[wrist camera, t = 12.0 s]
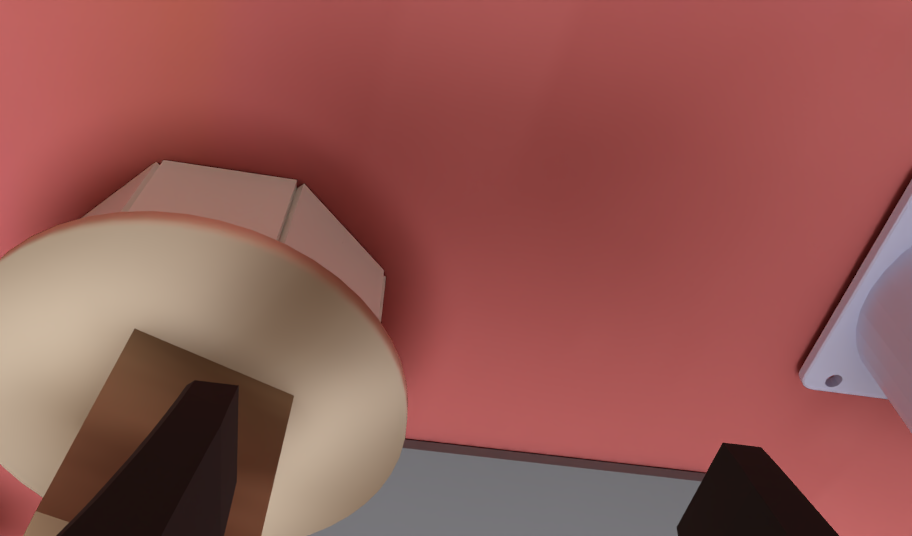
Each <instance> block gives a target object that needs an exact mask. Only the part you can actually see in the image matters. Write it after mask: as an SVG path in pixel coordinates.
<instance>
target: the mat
mask: <svg viewBox="0 0 912 536" xmlns="http://www.w3.org/2000/svg"><path fill="white" fill-rule="evenodd" d="M705 474H706V473H697V472H688V471H680V470H671V469H662V468H653V467H644V466H636V465H627V464H618V463H609V462H600V461H592V460H583V459H574V458H565V457H556V456H547V455H539V454H530V453H521V452H512V451H503V450H495V449H486V448H477V447H468V446H459V445H450V444H442V443H433V442H424V441H415V440H406V439H405V440H404V444H403V447H402V450H401V454H400V457H399V459H398V461H397V463H396V465H395V467H394V469H393V471H392V473H391V475H390V476H389V478H388V479H387V480H386V482H385V483H384V484H383V486H382V487H381V488H380V490H379V491H378V492H377V493H376V494H375V495H374V496H373V497H372V498H371V499H370V500H369V501H368V502H367V503H366V504H364V505H363V506H362V507H360V508H359V509H358V510H356V511H355V512H354V513H352V514H351V515H349V516H348V517H346V518H344V519H343V520H341V521H339V522H337V523H335V524H334V525H332V526H330V527H328V528H325V529H323V530H320V531H318V532H315V533H313V534H311V535H308V536H678V533H677V525H678V524H679V522H680V520H681V518H682V516H683V514H684V513H685V511H686V509H687V507H688V505H689V504H690V502H691V500H692V498H693V496H694V494H695V493H696V491H697V489H698V487H699V485H700V484H701V482H702V480H703V478H704V476H705Z"/></svg>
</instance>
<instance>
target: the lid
mask: <svg viewBox="0 0 912 536" xmlns="http://www.w3.org/2000/svg"><path fill="white" fill-rule="evenodd" d="M194 380H198V381H206V382H214V383H223V384H231V385H239V399H238V450H237V483H236V487H235V491H234V496H233V500H232V504H231V509H230V513H229V517H228V521H227V526H226V530H225V534H224V536H308V535H311V534H313V533H315V532H318V531H320V530H323V529H325V528H328V527H330V526H332V525H334V524H335V523H337V522H339V521H341V520H343V519H344V518H346V517H348V516H349V515H351V514H352V513H354V512H355V511H356V510H358V509H359V508H360V507H362V506H363V505H364V504H366V503H367V502H368V501H369V500H370V499H371V498H372V497H373V496H374V495H375V494H376V493H377V492H378V491H379V490H380V488H381V487H382V486H383V484H384V483H385V482H386V480H387V479H388V478H389V476H390V475H391V473H392V471H393V469H394V467H395V465H396V463H397V461H398V459H399V457H400V454H401V450H402V447H403V444H404V440H405V433H406V424H407V410H408V397H407V384H406V379H405V375H404V371H403V367H402V363H401V360H400V358H399V355H398V353H397V351H396V349H395V346H394V344H393V342H392V340H391V338H390V336H389V335H388V333H387V332H386V330H385V328H384V327H383V325H382V324H381V322H380V321H379V319H378V318H377V316H376V315H375V314H374V313H373V312H372V311H371V309H370V308H369V307H368V306H367V305H366V303H365V302H364V301H363V300H362V299H361V298H360V297H359V296H358V295H357V294H356V293H355V292H354V291H353V290H352V289H351V288H349V287H348V286H347V285H346V284H345V283H344V282H343V281H342V280H341V279H340V278H338V277H337V276H336V275H334V274H333V273H331V272H330V271H329V270H327V269H326V268H324V267H323V266H322V265H320V264H319V263H317V262H316V261H315V260H313V259H311V258H309V257H308V256H306V255H304V254H302V253H301V252H299V251H297V250H295V249H293V248H292V247H290V246H288V245H286V244H284V243H282V242H279V241H277V240H275V239H272V238H270V237H268V236H265V235H263V234H261V233H258V232H256V231H253V230H250V229H247V228H244V227H240V226H237V225H234V224H231V223H227V222H224V221H220V220H215V219H210V218H205V217H200V216H195V215H190V214H181V213H170V212H158V211H135V212H115V213H108V214H101V215H94V216H88V217H84V218H80V219H77V220H73V221H70V222H66V223H62V224H59V225H56V226H54V227H52V228H49V229H47V230H45V231H43V232H40V233H38V234H36V235H33V236H31V237H30V238H28V239H27V240H25V241H24V242H22V243H20V244H19V245H17V246H16V247H14V248H13V249H11V250H10V251H8V252H7V253H6V254H5V255H4V256H3V257H2V258H1V259H0V464H1V465H2V466H3V467H4V468H5V469H6V470H7V471H9V472H10V473H11V474H12V475H13V476H14V477H16V478H17V479H18V480H19V481H20V482H21V483H23V484H24V485H26V486H27V487H28V488H30V489H31V490H33V491H34V492H36V493H37V494H38V495H40V496H41V497H43V499H42V501H41V502H40V504H39V506H38V508H37V510H36V512H35V514H34V516H33V518H32V520H31V522H30V524H29V526H28V528H27V530H26V532H25V534H24V536H56V535H57V534H58V533H59V532H60V531H61V530H62V529H63V528H64V527H65V526H66V525H67V524H68V523H69V522H70V521H71V520H72V519H73V518H74V517H75V516H76V515H77V514H78V513H79V512H80V511H81V510H82V509H83V508H84V507H85V506H86V505H87V504H88V503H89V502H90V501H91V499H92V498H93V497H94V496H95V495H96V494H97V493H98V492H99V491H100V490H101V488H102V487H103V486H104V485H105V484H106V483H107V482H108V481H109V479H110V478H111V477H112V476H113V475H114V474H115V473H116V472H117V471H118V469H119V468H120V467H121V466H122V465H123V464H124V463H125V462H126V461H127V459H128V458H129V457H130V456H131V455H132V454H133V452H134V451H135V450H136V449H137V448H138V447H139V445H140V444H141V443H142V442H143V441H144V439H145V438H146V437H147V436H148V435H149V433H150V432H151V431H152V430H153V428H154V427H155V426H156V425H157V424H158V422H159V421H160V420H161V419H162V417H163V416H164V415H165V413H166V412H167V411H168V410H169V408H170V407H171V406H172V404H173V403H174V402H175V400H176V399H177V398H178V396H179V395H180V394H181V392H182V391H183V389H184V388H185V387H186V385H188V384H189V383H191V382H193V381H194Z"/></svg>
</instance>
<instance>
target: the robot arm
mask: <svg viewBox="0 0 912 536" xmlns="http://www.w3.org/2000/svg"><path fill="white" fill-rule="evenodd" d="M833 375H834V376H833ZM830 376H833V377H831V378H828V377H830ZM799 378H800V380H801V382H802V383H803V385H804V386H805V387H806V388H808V389H812V390H820V391H827V392H835V393H843V394H851V395H858V396H866V397H874V398H882V399H888V400H889V401H890V403H891V404H892V406H893V407H894V408H895V410H896V411H897V413H898V414H899V416H900V417H901V419H902V420H903V421H904V423H905V424H906V426H907V427H908V429H909V430H910V432H911V433H912V180H911V182H910V183H909V185H908V187H907V188H906V190H905V192H904V193H903V195H902V197H901V199H900V200H899V202H898V204H897V205H896V207H895V209H894V210H893V212H892V214H891V216H890V217H889V219H888V221H887V222H886V224H885V226H884V228H883V229H882V231H881V233H880V234H879V236H878V238H877V239H876V241H875V243H874V245H873V246H872V248H871V250H870V251H869V253H868V255H867V257H866V258H865V260H864V262H863V263H862V265H861V267H860V268H859V270H858V272H857V274H856V275H855V277H854V279H853V280H852V282H851V284H850V286H849V287H848V289H847V291H846V292H845V294H844V296H843V297H842V299H841V301H840V303H839V304H838V306H837V308H836V309H835V311H834V313H833V314H832V316H831V318H830V320H829V321H828V323H827V325H826V326H825V328H824V330H823V332H822V333H821V335H820V337H819V338H818V340H817V342H816V343H815V345H814V347H813V349H812V350H811V352H810V354H809V355H808V357H807V359H806V361H805V362H804V364H803V366H802V367H801V369H800V372H799ZM238 399H239V385H231V384H223V383H214V382H206V381H198V380H194V381H193V382H191V383H189V384H188V385H186V387H185V388H184V389H183V391H182V392H181V394H180V395H179V396H178V398H177V399H176V400H175V402H174V403H173V404H172V406H171V407H170V408H169V410H168V411H167V412H166V413H165V415H164V416H163V417H162V419H161V420H160V421H159V422H158V424H157V425H156V426H155V427H154V428H153V430H152V431H151V432H150V433H149V435H148V436H147V437H146V438H145V439H144V441H143V442H142V443H141V444H140V445H139V447H138V448H137V449H136V450H135V451H134V452H133V454H132V455H131V456H130V457H129V458H128V459H127V461H126V462H125V463H124V464H123V465H122V466H121V467H120V468H119V469H118V471H117V472H116V473H115V474H114V475H113V476H112V477H111V478H110V479H109V481H108V482H107V483H106V484H105V485H104V486H103V487H102V488H101V490H100V491H99V492H98V493H97V494H96V495H95V496H94V497H93V498H92V499H91V501H90V502H89V503H88V504H87V505H86V506H85V507H84V508H83V509H82V510H81V511H80V512H79V513H78V514H77V515H76V516H75V517H74V518H73V519H72V520H71V521H70V522H69V523H68V524H67V525H66V526H65V527H64V528H63V529H62V530H61V531H60V532H59V533H58V534H57V535H56V536H224V534H225V530H226V526H227V521H228V517H229V513H230V509H231V504H232V500H233V496H234V491H235V487H236V483H237V450H238ZM677 533H678V536H839V535H838V534H837V533H836V532H835V530H834V529H833V528H832V527H831V526H830V525H829V524H828V522H827V521H826V520H825V519H824V518H823V517H822V516H821V514H820V513H819V512H818V511H817V510H816V509H815V507H814V506H813V505H812V504H811V503H810V502H809V501H808V499H807V498H806V497H805V496H804V495H803V494H802V493H801V491H800V490H799V489H798V488H797V487H796V486H795V485H794V483H793V482H792V481H791V480H790V479H789V478H788V477H787V475H786V474H785V473H784V472H783V471H782V470H781V469H780V467H779V466H778V465H777V464H776V463H775V462H774V461H773V460H772V459H771V458H770V456H769V455H768V454H767V453H766V452H765V451H764V450H763V449H762V448H761V447H754V446H746V445H737V444H729V443H722V445H721V447H720V449H719V451H718V453H717V454H716V456H715V458H714V460H713V462H712V463H711V465H710V467H709V469H708V471H707V473H706V474H705V476H704V478H703V480H702V482H701V484H700V485H699V487H698V489H697V491H696V493H695V494H694V496H693V498H692V500H691V502H690V504H689V505H688V507H687V509H686V511H685V513H684V514H683V516H682V518H681V520H680V522H679V524H678V525H677Z"/></svg>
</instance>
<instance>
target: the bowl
mask: <svg viewBox="0 0 912 536" xmlns="http://www.w3.org/2000/svg"><path fill="white" fill-rule="evenodd" d="M135 211H158V212H170V213H181V214H190V215H195V216H200V217H205V218H210V219H215V220H220V221H224V222H227V223H231V224H234V225H237V226H240V227H244V228H247V229H250V230H253V231H256V232H258V233H261V234H263V235H265V236H268V237H270V238H272V239H275V240H277V241H279V242H282V243H284V244H286V245H288V246H290V247H292V248H293V249H295V250H297V251H299V252H301V253H302V254H304V255H306V256H308V257H309V258H311V259H313V260H315V261H316V262H317V263H319V264H320V265H322V266H323V267H324V268H326V269H327V270H329V271H330V272H331V273H333V274H334V275H336V276H337V277H338V278H340V279H341V280H342V281H343V282H344V283H345V284H346V285H347V286H348V287H349V288H351V289H352V290H353V291H354V292H355V293H356V294H357V295H358V296H359V297H360V298H361V299H362V300H363V301H364V302H365V303H366V305H367V306H368V307H369V308H370V309H371V311H372V312H373V313H374V314H375V315H376V316H377V318H378V319H379V321H380V322H381V317H382V308H383V299H384V290H385V281H386V276H384V270H383V269H382V268H381V266H380V265H379V264H378V263H377V262H376V261H375V260H374V259H373V258H372V257H371V256H370V255H369V253H368V252H367V251H366V250H365V249H364V248H363V247H362V246H361V245H360V244H359V243H358V242H357V240H356V239H355V238H354V237H353V236H352V235H351V234H350V233H349V232H348V231H347V230H346V228H345V227H344V226H343V225H342V224H341V223H340V222H339V221H338V220H337V219H336V218H335V217H334V215H333V214H332V213H331V212H330V211H329V210H328V209H327V208H326V207H325V206H324V205H323V203H322V202H321V201H320V200H319V199H318V198H317V197H316V196H315V195H314V194H313V193H312V192H311V190H310V189H309V188H308V187H307V186H306V185H305V184H303V185H301V186H300V187H298V188H297V180H295V179H288V178H281V177H274V176H268V175H261V174H254V173H248V172H241V171H234V170H228V169H221V168H214V167H208V166H201V165H194V164H188V163H181V162H174V161H168V160H163V161H162V163H161V164H160V165H159V164H158V163H157V162H155V163H153V164H152V165H151V166H150V167H148V168H147V169H146V170H144V171H143V172H142V173H140V174H139V175H138V176H136V177H135V178H134V179H132V180H131V181H130V182H128V183H127V184H126V185H124V186H123V187H122V188H120V189H119V190H118V191H116V192H115V193H114V194H112V195H111V196H110V197H108V198H107V199H106V200H104V201H103V202H102V203H100V204H99V205H98V206H96V207H95V208H94V209H92V210H91V211H90V212H88V213H87V214H86V215H84V216H83V217H82V218H84V217H88V216H94V215H101V214H108V213H115V212H135Z"/></svg>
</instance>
